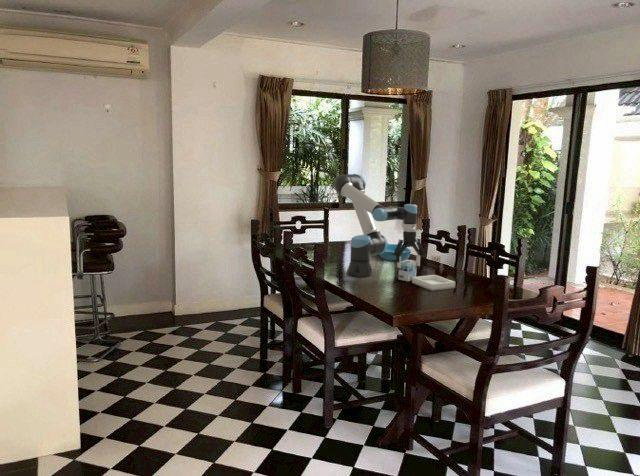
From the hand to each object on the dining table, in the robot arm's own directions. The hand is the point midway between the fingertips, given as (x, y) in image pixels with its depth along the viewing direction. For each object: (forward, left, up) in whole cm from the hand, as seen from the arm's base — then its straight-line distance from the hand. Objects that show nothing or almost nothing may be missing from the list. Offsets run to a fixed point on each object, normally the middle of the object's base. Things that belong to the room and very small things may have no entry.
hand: (408, 266), depth 297 cm
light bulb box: (0, 0, -8) cm, 8 cm away
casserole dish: (+29, +60, -8) cm, 67 cm away
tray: (+5, -18, -8) cm, 20 cm away
